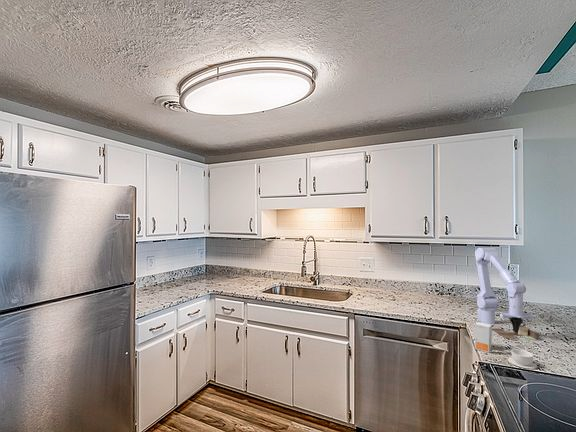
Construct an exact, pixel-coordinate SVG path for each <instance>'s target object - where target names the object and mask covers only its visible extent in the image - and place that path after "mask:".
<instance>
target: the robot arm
mask: <svg viewBox="0 0 576 432" xmlns="http://www.w3.org/2000/svg"><path fill="white" fill-rule="evenodd" d="M474 255H475V257H474V258H475V264H476V270H477V275H478V282H479V289H480V292H479V293H478V294H477V295H476V298H477V299H476V305H477V306H478V308H477V309H476V320H475V321H476V322H479V321H480V323H486V324H490V325H495V324H496V310H497V309H498V308H499V306H500V305H499V304H500V303H499V302H500V301H499V300H498V297H497V294H495V293H494V292H493V290H492V285H491V279H490V273H489V268H488V266H489V265H488V264H489V263H490V262H491V263H492V265H494V266H495V268H496V269H497V270H498V272H499V277H500V278H501V279H502V281H503V282H504V283H505V288H506V291H507V295H508V302H509V303H508V312H502V313H499V317H500V318H502V319H509V321H510V323H511V325H512V329H513V330H512V332H515V333H518V328H519V326H520V325H522V323H523V322H524V320H523V319H528V320H532V319H533V314H531V313H530V314H529V313H524V312H523V311H524V310H523V309H524V307H523V306H524V294H525V293H526V291H527V287H526V285H525V283H524V282H522V281H520V280H519V279H518V278H517V277H516V275H514V272H513V271H512V270H510V269H507V268H506V266H505V265H504V263H503V261H502V259H501V258H500V253H499V252H498V250H497V248H495V247H477V248H476V249H475V251H474Z"/></svg>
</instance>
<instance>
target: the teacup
mask: <svg viewBox="0 0 576 432" xmlns="http://www.w3.org/2000/svg"><path fill="white" fill-rule="evenodd" d="M510 354H511V357H509V358H507V362H509V363H510V364H512V365H513V366H516V367H520V368H522V369H523V368H524V369H530V370H533V369H537V368H538V365H537V364H536V363H535V362H533V361H534V354H533V353H531V352H529V351H526V350H524V349H518V348H517V349H511V353H510Z"/></svg>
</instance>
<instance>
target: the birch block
mask: <svg viewBox="0 0 576 432" xmlns="http://www.w3.org/2000/svg"><path fill="white" fill-rule="evenodd" d="M528 329H529V328H528V327H527V326H524V325H523V324H521V325H520V326H519V328H518V333H516V334H518V335H523V336H522V337H524V336H527V335H528Z"/></svg>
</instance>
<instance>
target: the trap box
mask: <svg viewBox="0 0 576 432" xmlns="http://www.w3.org/2000/svg"><path fill="white" fill-rule="evenodd" d="M510 330H511V331H512V332H511V331H506V330H504V329H502V328H492V332H494V333H496V334H497V335H499V336H501V337H503V338H504V339H506V340H519V338H517V337H524V338H526V339H527V340H531V341H538V340H539V333H537V332H536V331H534V330H531V329H529V328H528V335H527V336H523V335H518V334H516V333H515V332H514V331H513V328H511V329H510Z"/></svg>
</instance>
